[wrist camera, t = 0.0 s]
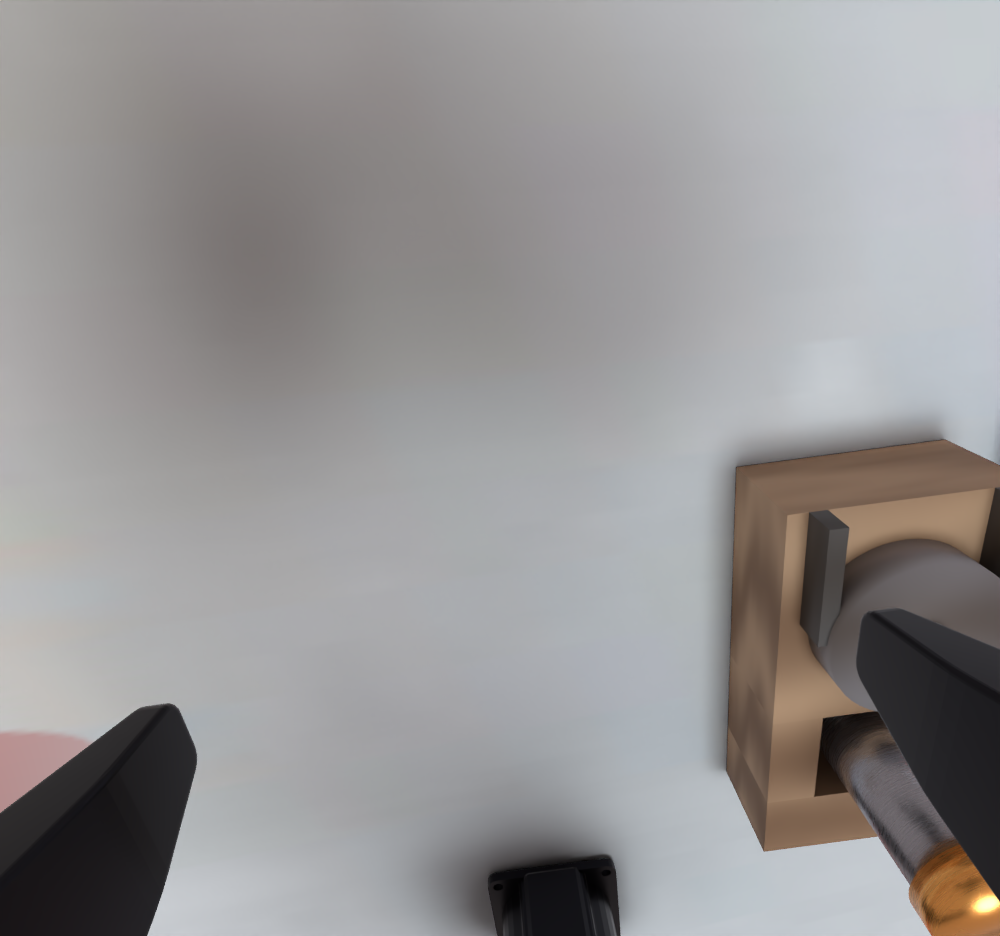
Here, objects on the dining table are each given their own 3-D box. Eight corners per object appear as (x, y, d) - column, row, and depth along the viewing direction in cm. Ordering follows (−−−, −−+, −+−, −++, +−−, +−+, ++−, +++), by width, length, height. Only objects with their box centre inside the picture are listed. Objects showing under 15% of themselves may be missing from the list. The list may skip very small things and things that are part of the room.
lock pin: (854, 705, 28) (1048, 951, 19) (773, 716, 28) (926, 968, 19) (863, 639, 27) (1079, 870, 17) (777, 651, 27) (946, 888, 17)
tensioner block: (891, 749, 29) (991, 876, 24) (726, 771, 29) (788, 903, 24) (945, 439, 23) (1098, 511, 18) (736, 467, 23) (823, 548, 18)
